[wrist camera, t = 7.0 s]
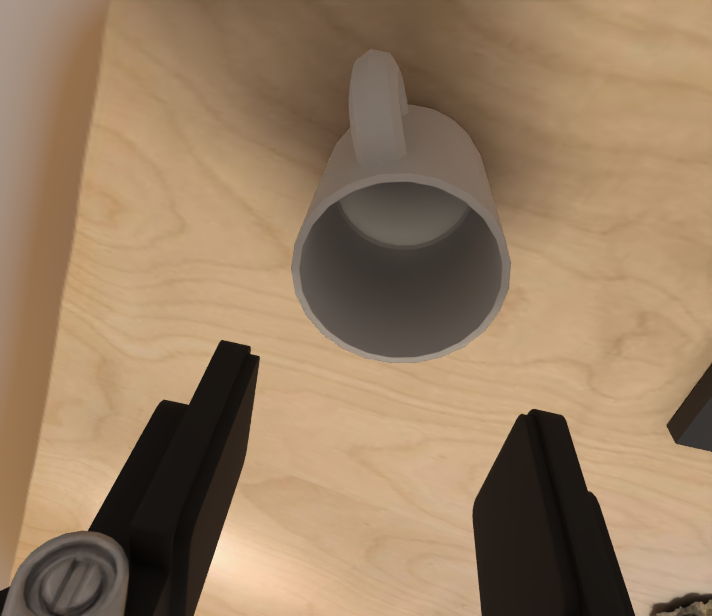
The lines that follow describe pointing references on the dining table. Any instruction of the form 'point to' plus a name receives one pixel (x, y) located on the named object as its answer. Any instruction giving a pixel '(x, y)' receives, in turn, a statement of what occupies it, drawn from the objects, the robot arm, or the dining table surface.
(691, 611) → the mineral rock
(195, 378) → the dining table surface
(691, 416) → the scale
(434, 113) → the cup
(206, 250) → the dining table surface
